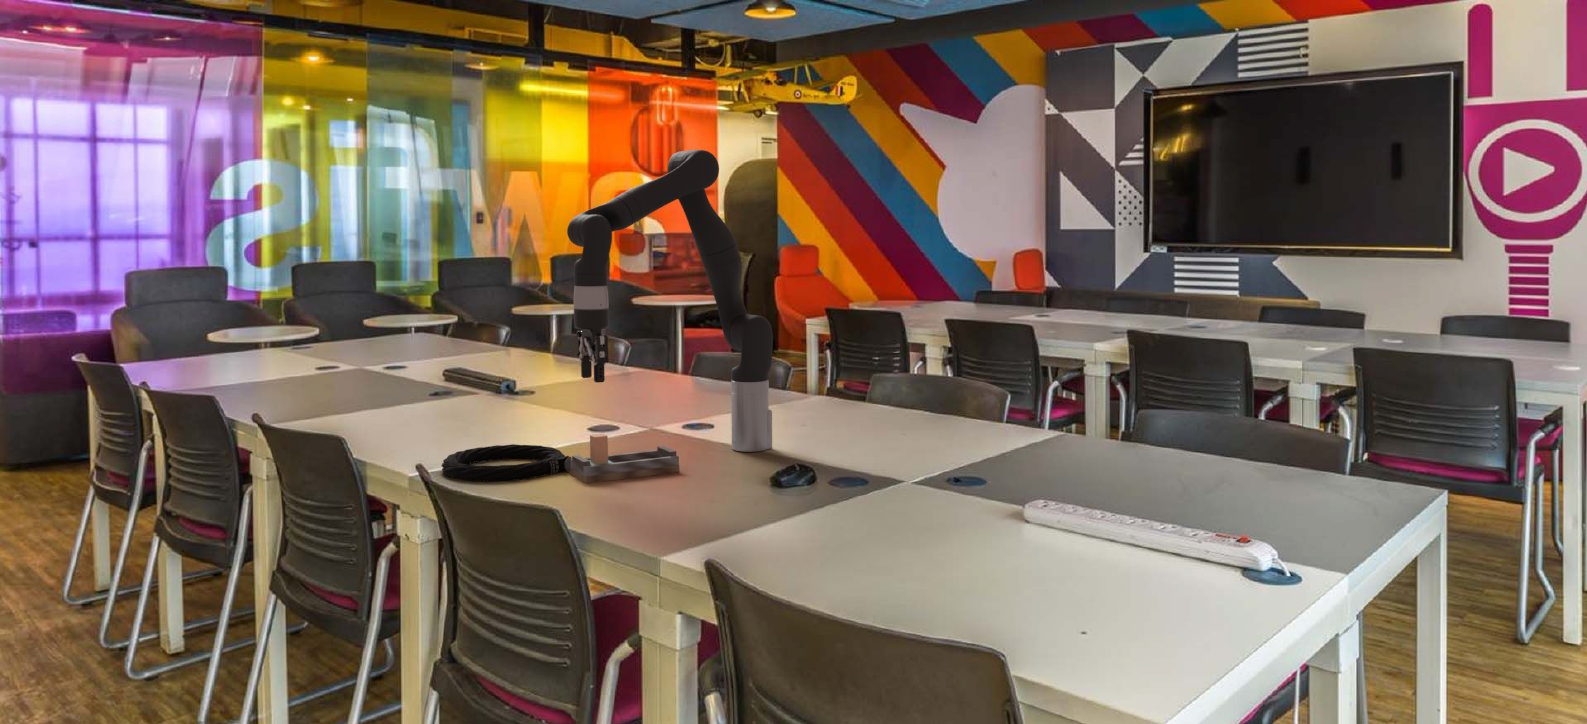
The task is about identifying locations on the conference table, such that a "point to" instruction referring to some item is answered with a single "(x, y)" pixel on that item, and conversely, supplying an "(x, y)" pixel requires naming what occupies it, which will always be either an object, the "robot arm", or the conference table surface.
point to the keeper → (599, 449)
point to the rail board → (626, 465)
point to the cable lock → (549, 464)
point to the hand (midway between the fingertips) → (592, 379)
